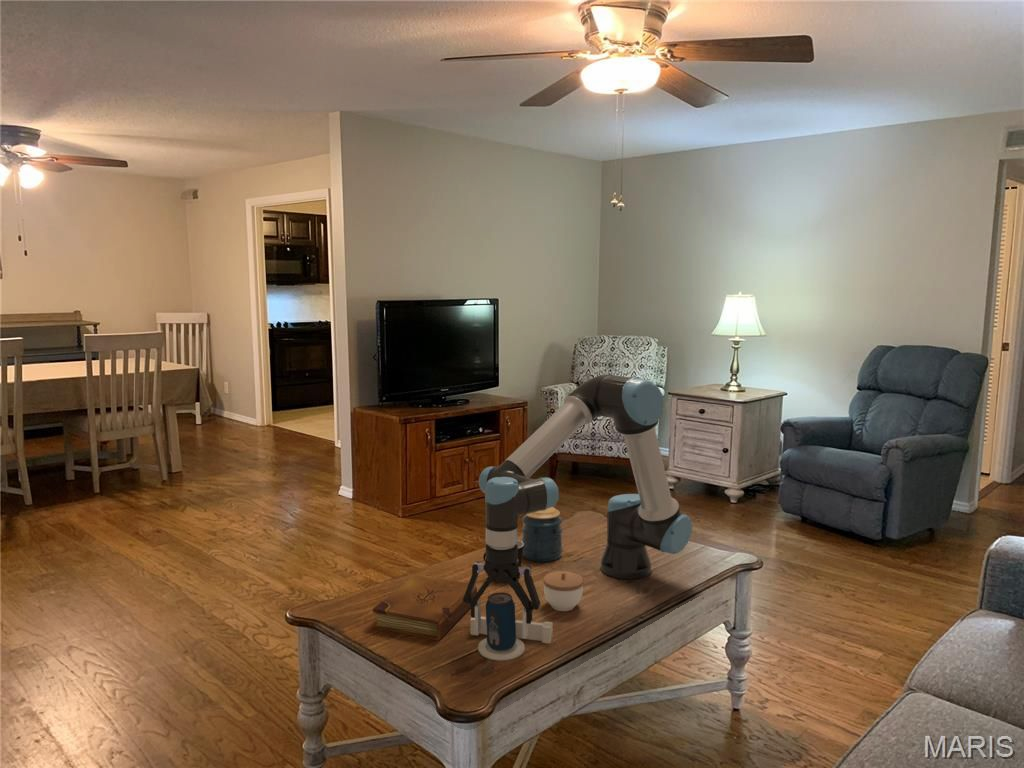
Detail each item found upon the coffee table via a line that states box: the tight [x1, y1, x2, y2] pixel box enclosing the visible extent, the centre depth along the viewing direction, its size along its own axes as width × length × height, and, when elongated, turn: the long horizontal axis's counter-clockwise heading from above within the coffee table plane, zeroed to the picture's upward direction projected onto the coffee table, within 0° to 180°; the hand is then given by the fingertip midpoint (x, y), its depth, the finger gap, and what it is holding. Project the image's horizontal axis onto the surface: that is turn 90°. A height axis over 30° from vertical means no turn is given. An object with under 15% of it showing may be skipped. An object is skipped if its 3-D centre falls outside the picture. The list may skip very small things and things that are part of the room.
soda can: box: [485, 592, 516, 651], centre depth 170 cm, size 7×7×12 cm
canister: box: [521, 506, 564, 563], centre depth 229 cm, size 13×13×18 cm
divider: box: [470, 616, 554, 645], centre depth 176 cm, size 20×3×4 cm, turn 78°
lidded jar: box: [543, 570, 584, 612], centre depth 193 cm, size 11×11×9 cm
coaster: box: [477, 637, 525, 662], centre depth 171 cm, size 11×11×1 cm
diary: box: [372, 574, 478, 641], centre depth 188 cm, size 23×19×6 cm
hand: (501, 632), depth 170 cm, fingers open, 11 cm apart
